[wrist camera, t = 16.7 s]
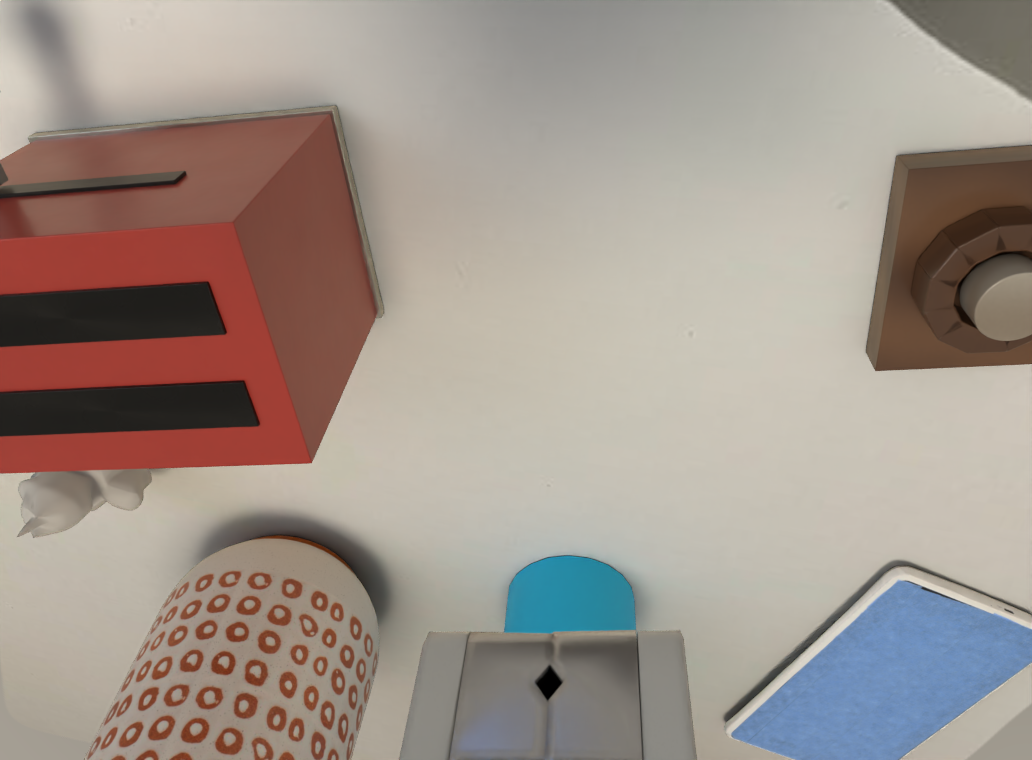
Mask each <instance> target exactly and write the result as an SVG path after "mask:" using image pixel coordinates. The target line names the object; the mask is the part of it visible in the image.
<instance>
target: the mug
mask: <svg viewBox="0 0 1032 760" xmlns="http://www.w3.org/2000/svg"><path fill="white" fill-rule="evenodd" d="M609 630H636V621H635V601H634V596H633V592H632V588H631V586H630V585H629V583H628V582H627V581H626V579H625V578H624V577H623V575H622V574H620V573H619V572H617V571H616V570H614V569H613V568H611V567H610V566H609V565H607V564H604V563H601V562H598V561H596V560H593V559H590V558H584V557H575V556H560V557H550V558H546V559H543V560H540V561H538V562H535V563H532V564H530V565H528V566H527V567H526V568H524V569H523V570H522V571H520V572H519V573H518V574H517V575H516V576H515V578H514V579H513V581H512V583H511V584H510V586H509V594H508V602H507V611H506V620H505V629H504V633H553V632H561V631H609Z"/></svg>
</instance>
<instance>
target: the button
mask: <svg viewBox="0 0 1032 760" xmlns="http://www.w3.org/2000/svg"><path fill="white" fill-rule="evenodd" d="M959 297H960V304H961V306H962V308H963V310H964V311H965V312H966V314H967V315H968V316H969V318H970V319H971V321H972V322H973V323H974V325H975V326H976V327H977V329H978V330H979V331H980V332H981V333H982V334H983V335H985V336H987V337H989V338H991V339H995V340H1000V341H1011V340H1017V339H1021V338H1024V337H1027V336H1030V335H1032V259H1030V258H1028V257H1026V256H1023V255H1018V254H1004V255H999V256H995V257H992V258H990V259H988V260H986V261H984V262H982V263H981V264H979V265H978V266H976V267H975V268H974V269H973V270H972V271H971V272H970V273H969V274H968V275H967V277H966V278H965V280H964V281H963V284H962V286H961V289H960V295H959Z"/></svg>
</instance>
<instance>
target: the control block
mask: <svg viewBox="0 0 1032 760" xmlns="http://www.w3.org/2000/svg"><path fill="white" fill-rule="evenodd" d="M1004 254H1018V255H1023V256H1026V257H1028V258H1030V259H1032V145H1030V146H1016V147H1003V148H990V149H977V150H964V151H951V152H938V153H925V154H912V155H899V156H897V157H896V163H895V169H894V176H893V182H892V188H891V195H890V201H889V208H888V214H887V220H886V227H885V233H884V240H883V246H882V252H881V259H880V265H879V271H878V278H877V284H876V291H875V297H874V303H873V310H872V316H871V323H870V329H869V335H868V342H867V348H866V353H867V355H868V357H869V359H870V361H871V363H872V365H873V367H874V369H875V371H885V370H908V369H931V368H953V367H976V366H999V365H1021V364H1032V335H1030V336H1027V337H1024V338H1021V339H1017V340H1011V341H1000V340H995V339H991V338H989V337H987V336H985V335H983V334H982V333H981V332H980V331H979V330H978V329H977V327H976V326H975V325H974V323H973V322H972V321H971V319H970V318H969V316H968V315H967V314H966V312H965V311H964V310H963V308H962V306H961V304H960V297H959V295H960V289H961V286H962V284H963V281H964V280H965V278H966V277H967V275H968V274H969V273H970V272H971V271H972V270H973V269H974V268H975V267H976V266H978V265H979V264H981V263H982V262H984V261H986V260H988V259H990V258H992V257H995V256H999V255H1004Z"/></svg>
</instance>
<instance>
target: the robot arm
mask: <svg viewBox="0 0 1032 760" xmlns="http://www.w3.org/2000/svg"><path fill="white" fill-rule="evenodd" d="M399 760H697V757H696V748H695V739H694V730H693V721H692V712H691V702H690V693H689V684H688V675H687V666H686V657H685V648H684V639H683V636H682V634H681V631H638V632H637V638H636V630H609V631H561V632H553V633H504V632H429V634H428V636H427V638H426V640H425V642H424V644H423V647H422V652H421V657H420V662H419V666H418V671H417V676H416V681H415V686H414V690H413V695H412V700H411V705H410V709H409V714H408V719H407V724H406V728H405V733H404V738H403V743H402V748H401V752H400V757H399Z"/></svg>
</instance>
